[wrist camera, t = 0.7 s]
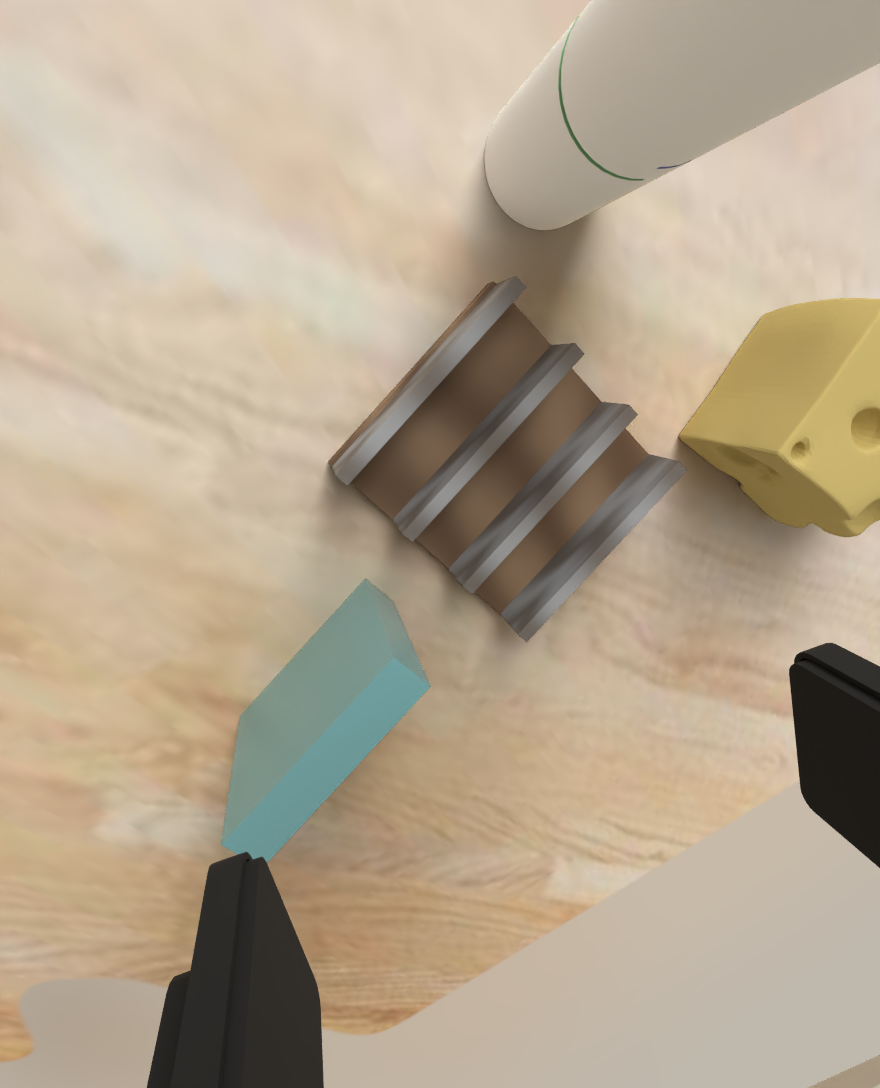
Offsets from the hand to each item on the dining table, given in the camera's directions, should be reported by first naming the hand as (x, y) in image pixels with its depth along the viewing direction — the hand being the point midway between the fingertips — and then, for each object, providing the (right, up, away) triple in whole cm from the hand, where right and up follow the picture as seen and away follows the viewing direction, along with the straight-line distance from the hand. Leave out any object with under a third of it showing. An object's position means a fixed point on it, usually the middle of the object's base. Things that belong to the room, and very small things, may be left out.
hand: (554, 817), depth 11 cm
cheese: (+20, +13, +34) cm, 42 cm away
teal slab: (-10, -3, +31) cm, 33 cm away
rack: (+2, +10, +30) cm, 32 cm away
